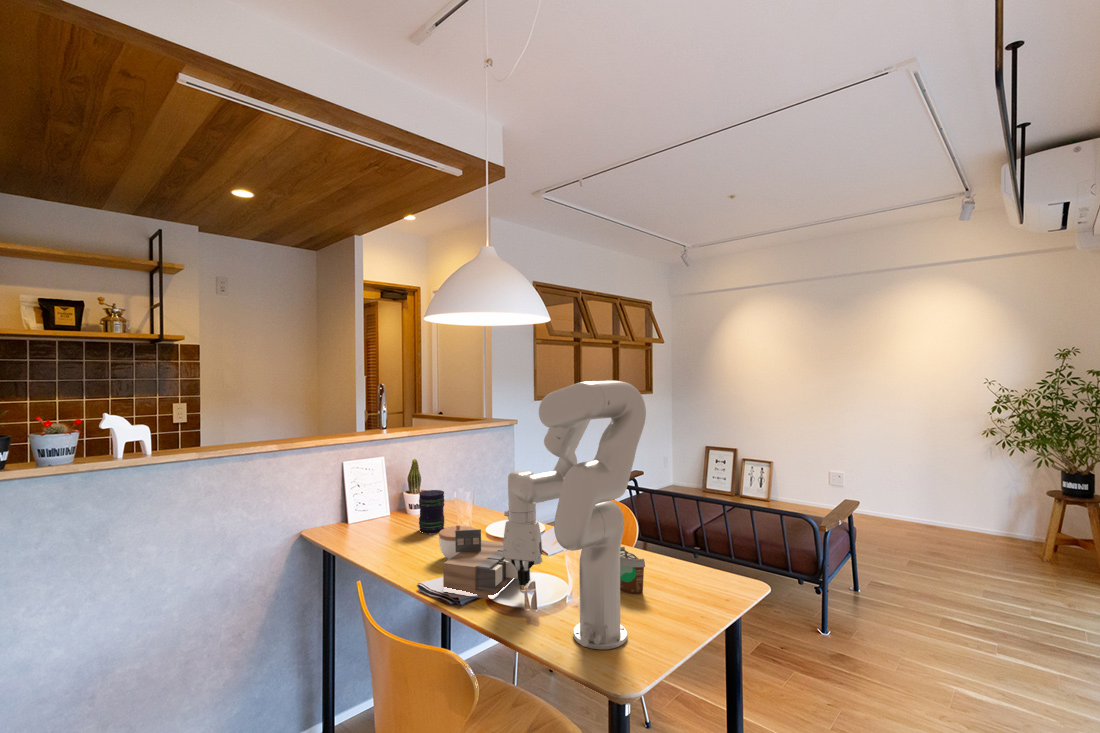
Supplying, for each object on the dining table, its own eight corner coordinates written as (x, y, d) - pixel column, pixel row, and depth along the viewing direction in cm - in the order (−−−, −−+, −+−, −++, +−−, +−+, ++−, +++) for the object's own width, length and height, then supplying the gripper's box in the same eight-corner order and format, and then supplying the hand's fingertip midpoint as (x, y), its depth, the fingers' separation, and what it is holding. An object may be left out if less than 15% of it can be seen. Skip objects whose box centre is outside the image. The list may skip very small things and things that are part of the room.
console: (493, 600, 143) (492, 545, 143) (438, 591, 148) (438, 539, 149) (523, 571, 163) (523, 524, 164) (475, 565, 169) (475, 519, 169)
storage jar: (415, 534, 203) (415, 495, 203) (422, 526, 213) (422, 489, 213) (441, 534, 203) (441, 495, 203) (447, 526, 213) (447, 489, 213)
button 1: (495, 586, 144) (495, 570, 145) (479, 584, 146) (479, 568, 146) (502, 580, 149) (502, 565, 149) (486, 578, 150) (486, 563, 150)
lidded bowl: (432, 557, 176) (432, 524, 177) (464, 549, 185) (464, 518, 185) (450, 568, 167) (450, 533, 167) (484, 559, 175) (484, 525, 175)
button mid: (517, 578, 150) (517, 563, 150) (501, 576, 152) (501, 561, 152) (523, 573, 154) (523, 558, 154) (507, 571, 156) (507, 556, 156)
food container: (605, 582, 154) (605, 548, 155) (623, 579, 157) (623, 545, 157) (625, 599, 143) (625, 562, 143) (645, 595, 145) (645, 559, 145)
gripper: (491, 518, 143) (493, 586, 143) (543, 521, 138) (544, 592, 138) (503, 511, 150) (504, 576, 150) (552, 514, 145) (554, 581, 145)
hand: (524, 583), depth 144 cm, fingers closed
